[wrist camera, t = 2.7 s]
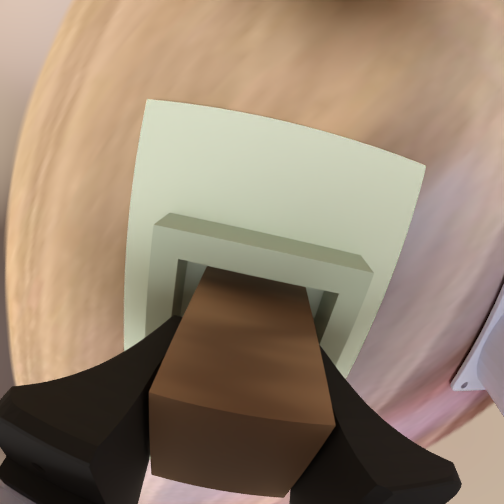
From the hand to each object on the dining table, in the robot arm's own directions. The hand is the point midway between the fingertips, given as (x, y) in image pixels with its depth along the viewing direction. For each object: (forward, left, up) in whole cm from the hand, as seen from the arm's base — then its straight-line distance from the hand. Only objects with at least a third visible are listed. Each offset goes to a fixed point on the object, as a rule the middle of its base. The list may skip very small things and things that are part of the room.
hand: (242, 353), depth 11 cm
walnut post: (0, 0, -2) cm, 2 cm away
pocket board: (0, +3, -3) cm, 4 cm away
